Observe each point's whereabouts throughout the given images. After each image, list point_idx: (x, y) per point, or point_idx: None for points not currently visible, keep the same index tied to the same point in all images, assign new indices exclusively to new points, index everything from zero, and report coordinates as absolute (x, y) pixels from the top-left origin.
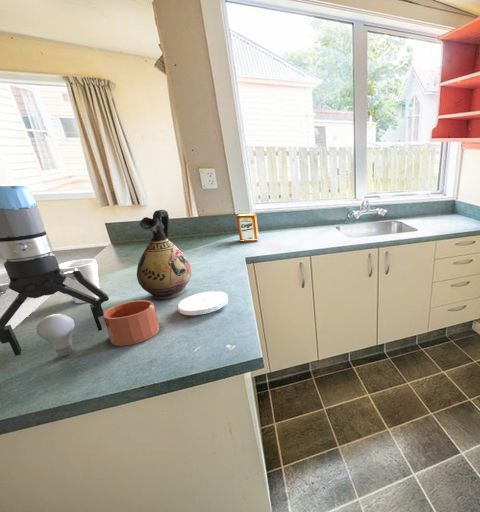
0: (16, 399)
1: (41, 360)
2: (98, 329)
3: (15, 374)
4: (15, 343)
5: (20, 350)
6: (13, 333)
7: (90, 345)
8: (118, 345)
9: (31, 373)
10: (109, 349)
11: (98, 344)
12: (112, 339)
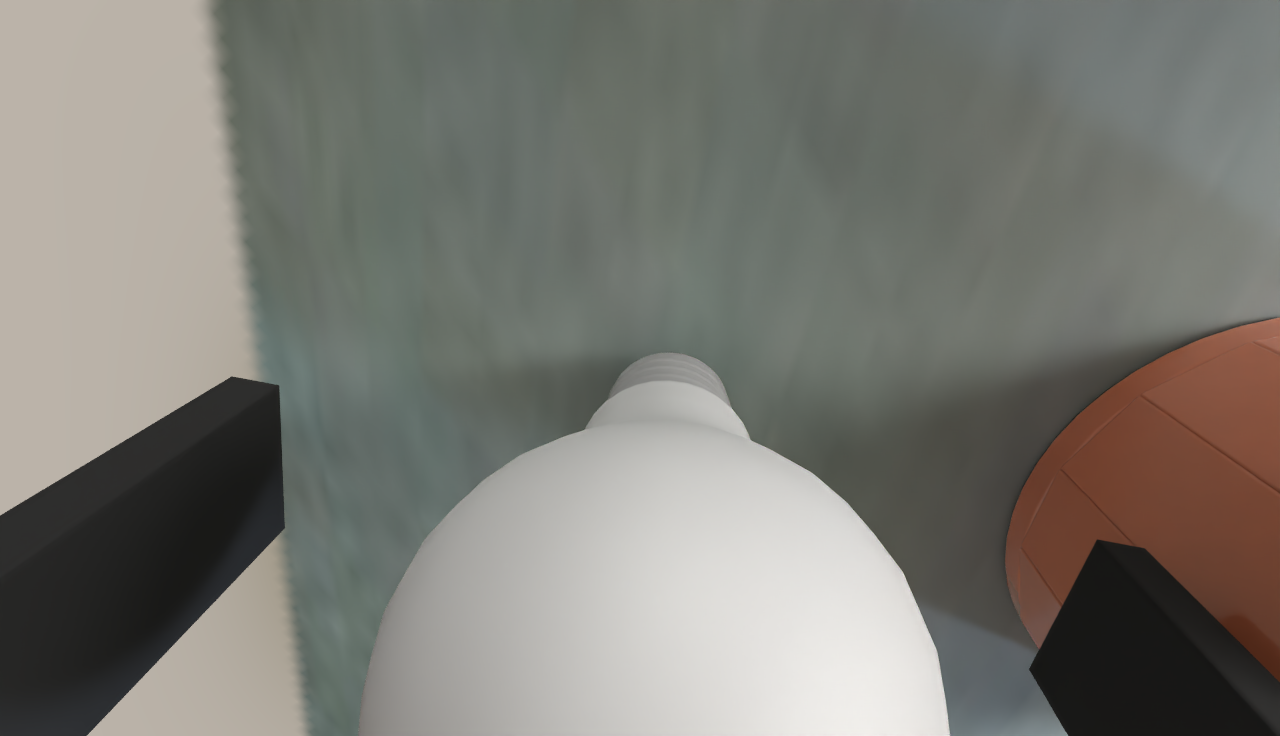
0: (346, 726)
1: (489, 290)
2: (1048, 692)
3: (312, 384)
4: (158, 652)
5: (268, 463)
6: (10, 632)
7: (883, 367)
8: (1016, 607)
9: (414, 477)
10: (937, 598)
11: (936, 415)
12: (1038, 610)
